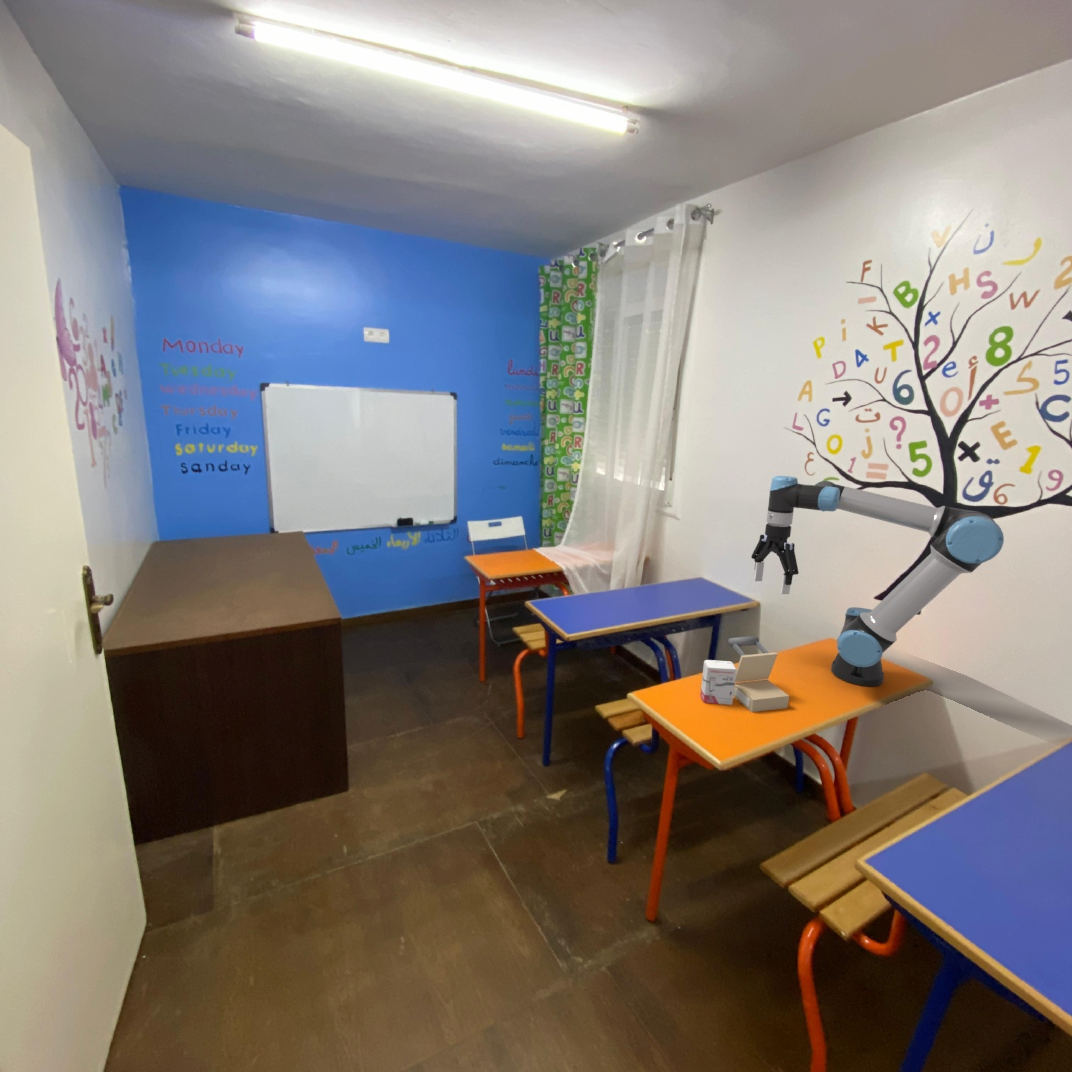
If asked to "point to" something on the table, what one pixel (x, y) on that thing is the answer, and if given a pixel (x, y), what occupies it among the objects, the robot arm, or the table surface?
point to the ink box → (718, 682)
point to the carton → (760, 695)
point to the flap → (752, 660)
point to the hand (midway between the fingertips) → (770, 587)
